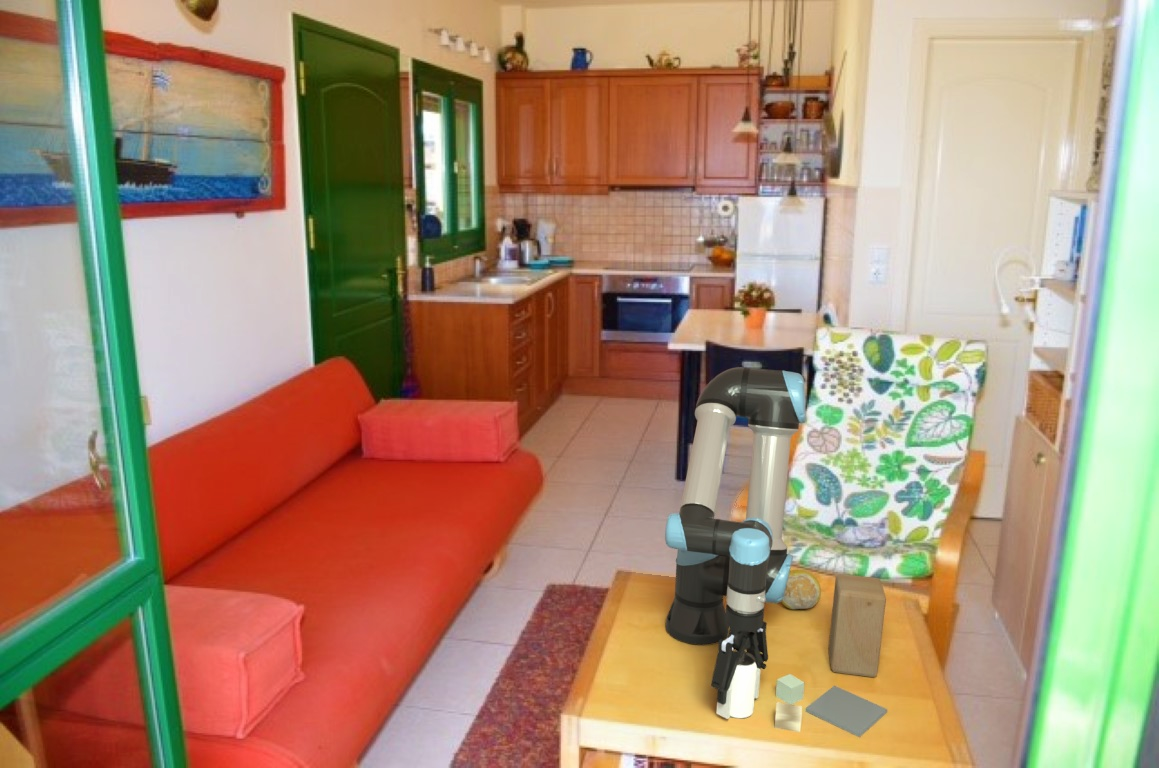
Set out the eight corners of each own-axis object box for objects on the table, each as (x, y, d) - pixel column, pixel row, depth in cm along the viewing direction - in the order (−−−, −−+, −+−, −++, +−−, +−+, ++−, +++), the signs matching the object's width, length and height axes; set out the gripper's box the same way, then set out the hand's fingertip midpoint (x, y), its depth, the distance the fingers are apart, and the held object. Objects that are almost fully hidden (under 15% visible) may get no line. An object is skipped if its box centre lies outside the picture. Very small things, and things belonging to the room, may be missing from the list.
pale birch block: (774, 728, 176) (776, 710, 175) (775, 719, 179) (776, 702, 178) (800, 732, 175) (801, 714, 174) (800, 723, 178) (801, 706, 177)
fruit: (770, 599, 230) (773, 564, 228) (809, 598, 232) (813, 563, 229) (783, 618, 220) (786, 581, 218) (824, 617, 222) (828, 580, 219)
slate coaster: (805, 711, 182) (805, 707, 182) (834, 688, 190) (834, 685, 190) (859, 737, 174) (859, 733, 173) (886, 712, 182) (887, 709, 182)
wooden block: (877, 679, 194) (887, 596, 190) (830, 673, 196) (839, 591, 192) (872, 656, 204) (881, 576, 199) (827, 650, 206) (835, 571, 201)
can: (732, 722, 177) (736, 669, 175) (715, 705, 183) (719, 653, 180) (759, 715, 180) (763, 662, 177) (741, 698, 186) (745, 647, 183)
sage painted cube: (775, 696, 187) (777, 679, 186) (788, 690, 189) (789, 673, 188) (790, 705, 184) (791, 688, 183) (802, 699, 186) (804, 682, 185)
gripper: (728, 631, 166) (721, 736, 171) (791, 594, 181) (782, 691, 186) (696, 617, 171) (690, 719, 176) (759, 582, 187) (752, 677, 192)
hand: (737, 705), depth 181 cm, fingers open, 10 cm apart
